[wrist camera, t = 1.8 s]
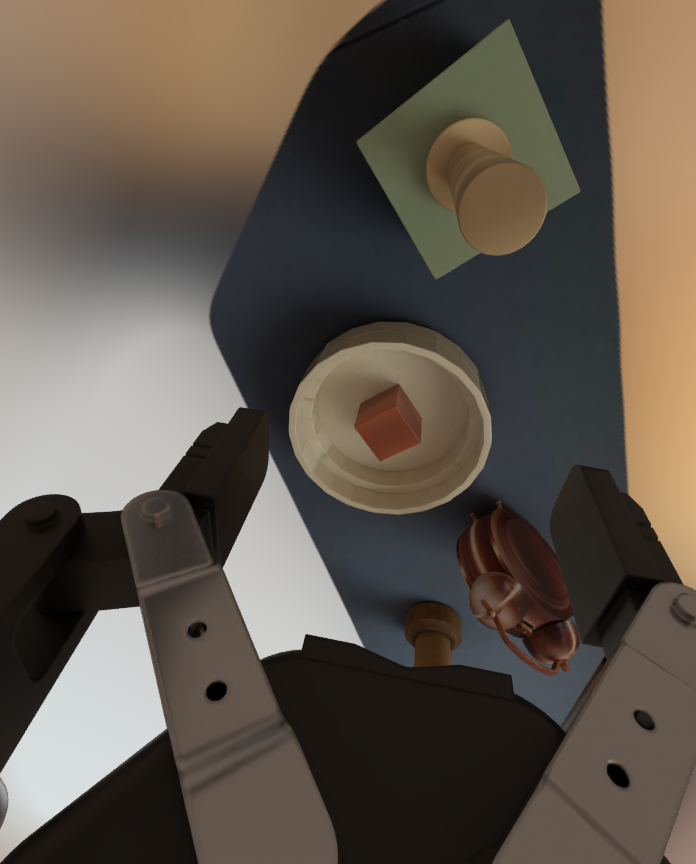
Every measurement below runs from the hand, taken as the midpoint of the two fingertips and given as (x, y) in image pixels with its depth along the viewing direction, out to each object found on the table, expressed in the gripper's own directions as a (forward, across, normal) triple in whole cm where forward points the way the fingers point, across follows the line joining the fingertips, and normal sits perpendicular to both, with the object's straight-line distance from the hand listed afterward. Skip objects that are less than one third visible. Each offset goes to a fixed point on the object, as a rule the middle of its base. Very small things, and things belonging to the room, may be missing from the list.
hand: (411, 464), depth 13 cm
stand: (+27, -1, -6) cm, 28 cm away
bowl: (+27, 0, +14) cm, 30 cm away
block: (+26, 0, +14) cm, 30 cm away
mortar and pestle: (+27, -9, +42) cm, 50 cm away
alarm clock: (+27, -13, +25) cm, 39 cm away
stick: (+17, -1, -6) cm, 18 cm away
